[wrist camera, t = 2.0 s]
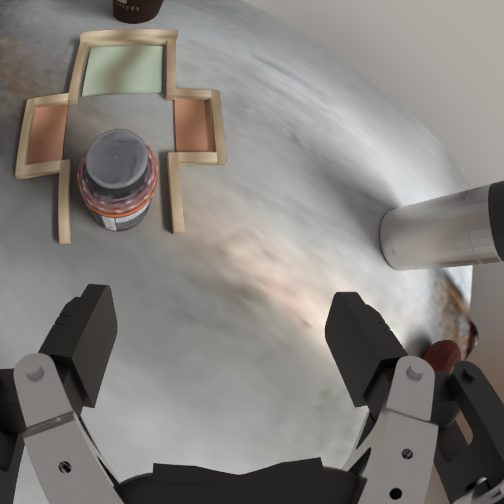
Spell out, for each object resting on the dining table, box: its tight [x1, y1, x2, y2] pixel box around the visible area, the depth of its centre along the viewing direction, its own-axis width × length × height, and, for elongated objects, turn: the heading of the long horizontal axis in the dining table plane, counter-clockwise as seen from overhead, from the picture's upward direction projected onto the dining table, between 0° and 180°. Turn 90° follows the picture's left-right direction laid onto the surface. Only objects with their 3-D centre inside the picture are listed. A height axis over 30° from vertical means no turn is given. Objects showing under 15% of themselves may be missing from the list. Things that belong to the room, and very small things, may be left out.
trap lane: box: [15, 29, 227, 245], centre depth 26 cm, size 22×25×2 cm
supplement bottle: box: [77, 129, 158, 232], centre depth 21 cm, size 6×6×11 cm
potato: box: [423, 340, 461, 372], centre depth 39 cm, size 7×8×7 cm
